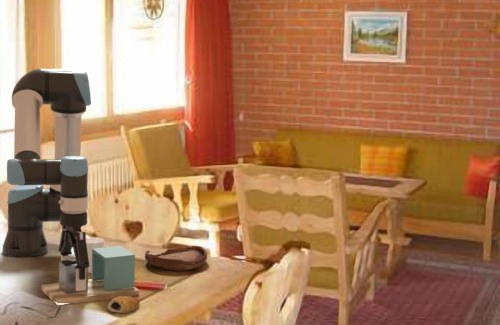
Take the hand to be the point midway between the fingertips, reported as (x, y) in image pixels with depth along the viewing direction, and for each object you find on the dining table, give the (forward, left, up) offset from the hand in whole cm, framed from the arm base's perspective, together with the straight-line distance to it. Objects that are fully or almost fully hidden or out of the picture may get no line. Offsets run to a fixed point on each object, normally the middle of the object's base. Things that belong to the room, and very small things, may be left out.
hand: (73, 283), depth 220 cm
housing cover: (0, +12, -1) cm, 12 cm away
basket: (-19, +42, -4) cm, 46 cm away
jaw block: (0, 0, -2) cm, 2 cm away
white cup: (-22, +13, -3) cm, 26 cm away
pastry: (+18, +9, -4) cm, 20 cm away
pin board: (0, +5, -3) cm, 6 cm away
